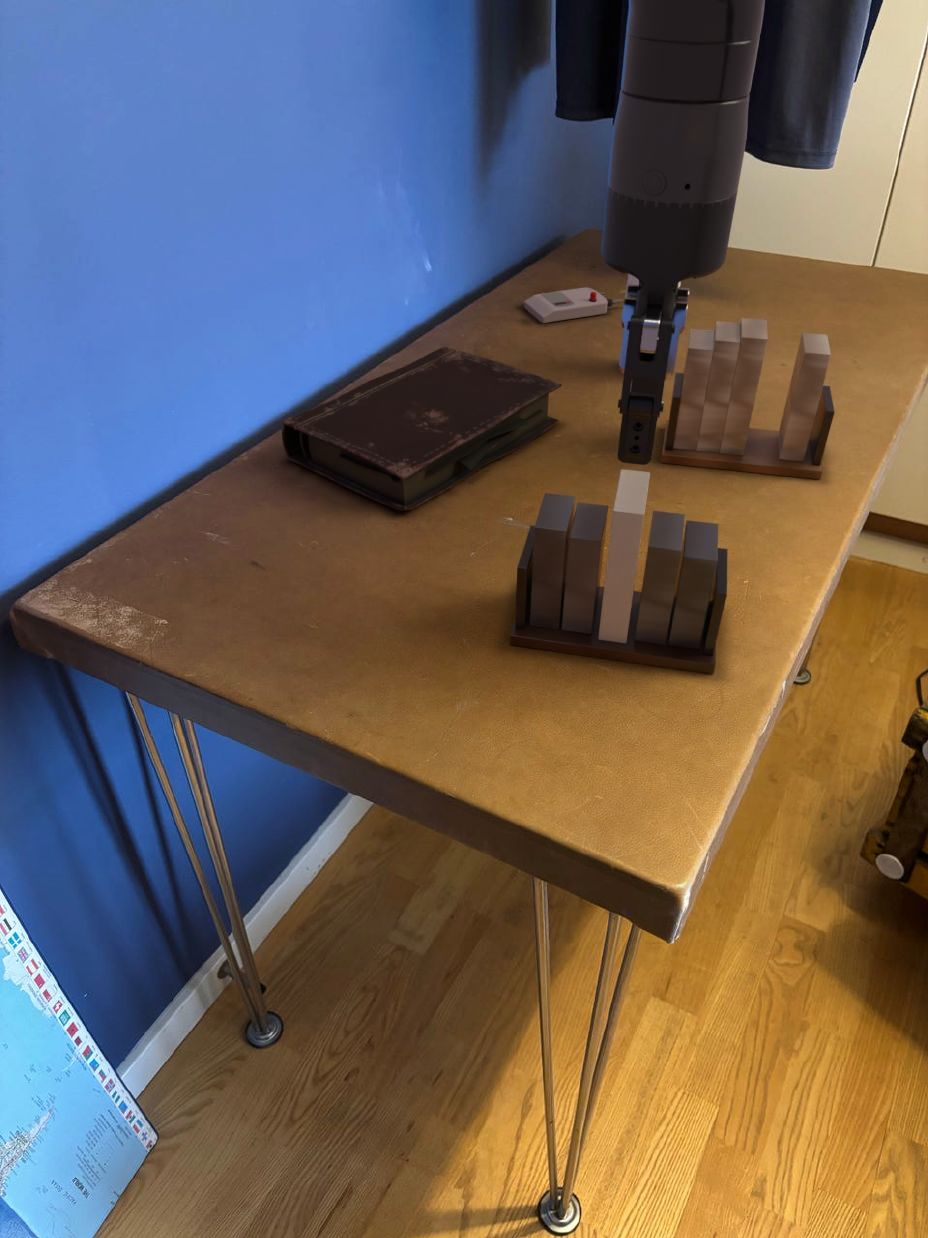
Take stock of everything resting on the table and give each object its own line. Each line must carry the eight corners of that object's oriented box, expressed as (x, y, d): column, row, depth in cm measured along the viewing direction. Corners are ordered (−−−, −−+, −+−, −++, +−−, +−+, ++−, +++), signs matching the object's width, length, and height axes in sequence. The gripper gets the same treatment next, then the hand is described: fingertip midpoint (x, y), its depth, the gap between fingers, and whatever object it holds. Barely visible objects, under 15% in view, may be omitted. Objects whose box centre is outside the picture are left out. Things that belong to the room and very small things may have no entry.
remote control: (511, 309, 129) (512, 287, 127) (610, 294, 133) (612, 273, 131) (530, 325, 124) (531, 304, 122) (632, 310, 129) (634, 288, 127)
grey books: (715, 610, 76) (738, 503, 70) (713, 674, 70) (738, 563, 64) (526, 585, 79) (531, 480, 72) (509, 644, 73) (513, 536, 66)
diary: (283, 459, 96) (276, 415, 93) (440, 380, 111) (439, 341, 108) (411, 521, 87) (408, 475, 84) (564, 427, 102) (567, 385, 98)
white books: (815, 442, 98) (847, 320, 90) (820, 479, 92) (855, 352, 84) (665, 427, 101) (683, 307, 93) (660, 462, 95) (679, 337, 87)
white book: (632, 597, 76) (650, 471, 68) (626, 643, 72) (644, 514, 64) (606, 594, 76) (621, 468, 69) (598, 639, 72) (612, 510, 64)
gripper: (739, 219, 47) (690, 490, 57) (738, 154, 58) (697, 392, 68) (594, 209, 48) (571, 476, 59) (619, 148, 59) (596, 382, 69)
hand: (639, 431), depth 63 cm, fingers open, 8 cm apart
